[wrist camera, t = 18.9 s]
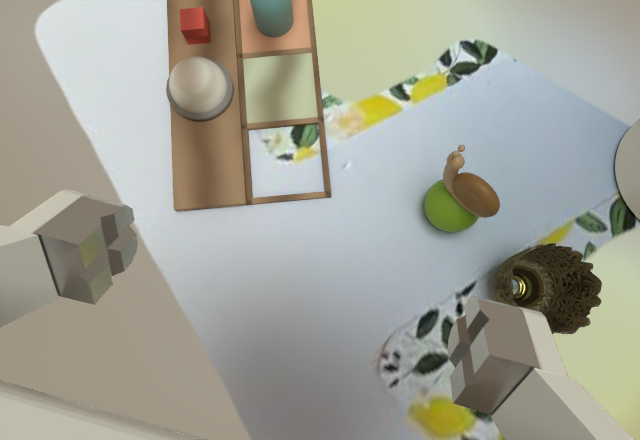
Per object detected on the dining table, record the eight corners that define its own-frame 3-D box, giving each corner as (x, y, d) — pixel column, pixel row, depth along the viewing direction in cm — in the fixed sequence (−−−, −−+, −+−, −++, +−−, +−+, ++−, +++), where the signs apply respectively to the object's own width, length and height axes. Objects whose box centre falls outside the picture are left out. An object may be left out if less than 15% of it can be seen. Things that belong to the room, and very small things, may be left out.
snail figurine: (436, 168, 42) (480, 124, 30) (480, 210, 41) (543, 182, 29) (401, 202, 41) (432, 171, 30) (445, 245, 41) (495, 231, 29)
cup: (499, 236, 41) (541, 225, 33) (560, 278, 40) (619, 277, 32) (461, 295, 40) (495, 298, 32) (523, 338, 39) (573, 353, 31)
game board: (310, -11, 47) (308, -53, 41) (331, 199, 43) (332, 185, 37) (173, 2, 47) (151, -39, 41) (180, 213, 42) (157, 201, 37)
